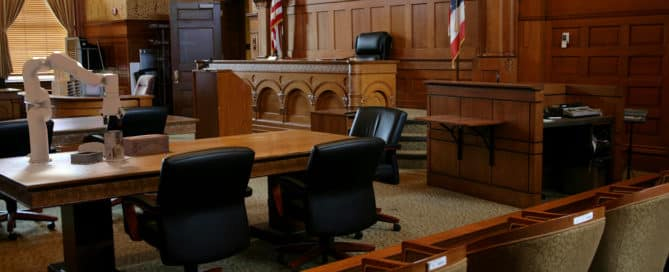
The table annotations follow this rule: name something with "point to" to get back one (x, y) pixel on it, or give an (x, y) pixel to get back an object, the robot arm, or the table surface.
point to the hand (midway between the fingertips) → (112, 125)
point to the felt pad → (116, 159)
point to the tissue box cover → (146, 144)
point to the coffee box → (114, 145)
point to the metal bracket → (86, 157)
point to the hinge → (92, 147)
